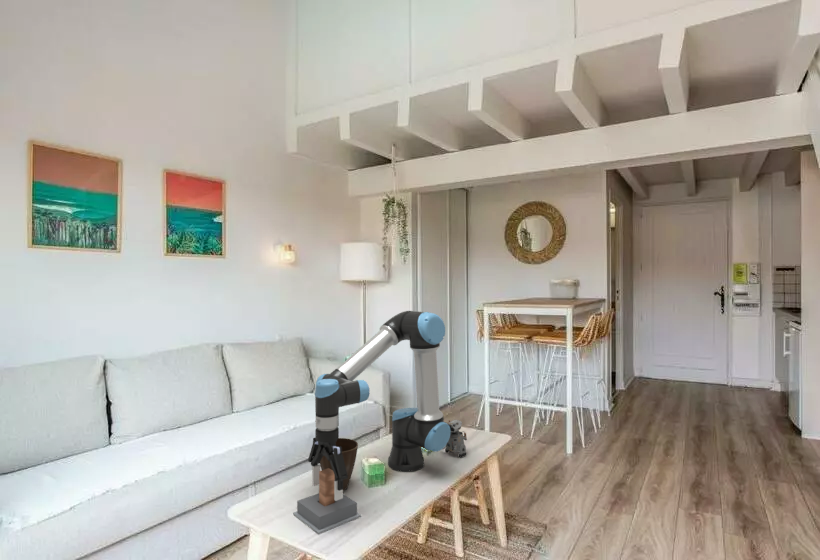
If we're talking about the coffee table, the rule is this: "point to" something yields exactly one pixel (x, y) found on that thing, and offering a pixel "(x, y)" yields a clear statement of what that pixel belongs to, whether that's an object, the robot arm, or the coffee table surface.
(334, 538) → the coffee table surface
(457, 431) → the figurine
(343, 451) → the plant pot
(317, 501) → the socket block
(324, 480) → the peg
